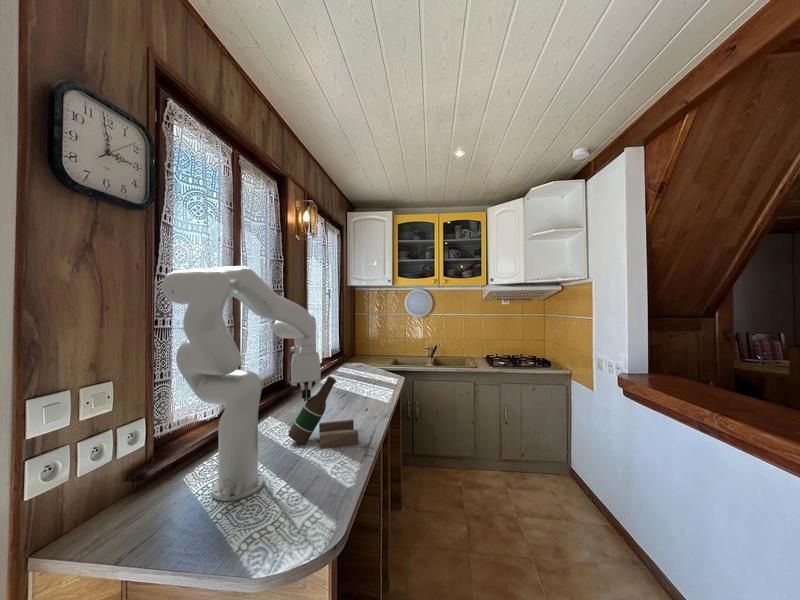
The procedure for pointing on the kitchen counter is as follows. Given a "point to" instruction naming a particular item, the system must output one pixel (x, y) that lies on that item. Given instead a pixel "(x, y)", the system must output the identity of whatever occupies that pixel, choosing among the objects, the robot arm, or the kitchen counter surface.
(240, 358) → the robot arm
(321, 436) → the block
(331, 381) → the beer bottle
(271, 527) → the kitchen counter surface
